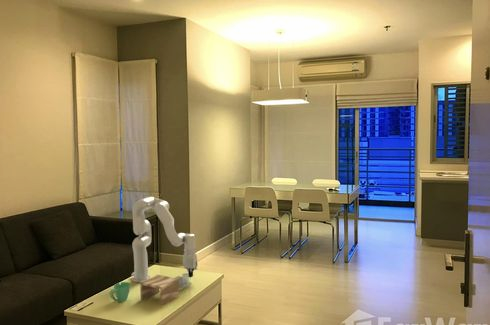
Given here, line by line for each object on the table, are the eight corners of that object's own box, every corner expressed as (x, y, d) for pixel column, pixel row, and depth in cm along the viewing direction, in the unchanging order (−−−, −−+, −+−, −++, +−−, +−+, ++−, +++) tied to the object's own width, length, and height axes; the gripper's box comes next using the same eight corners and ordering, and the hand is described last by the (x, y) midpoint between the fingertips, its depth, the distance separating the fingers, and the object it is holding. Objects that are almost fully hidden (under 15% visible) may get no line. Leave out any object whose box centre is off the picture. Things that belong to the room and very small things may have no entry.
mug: (121, 296, 264) (121, 281, 263) (133, 298, 260) (133, 283, 259) (105, 304, 251) (104, 289, 250) (117, 307, 247) (117, 291, 246)
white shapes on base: (165, 292, 270) (164, 281, 270) (183, 282, 288) (183, 272, 287) (173, 294, 267) (173, 282, 266) (191, 284, 284) (191, 273, 284)
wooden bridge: (140, 299, 257) (140, 282, 257) (157, 291, 271) (157, 274, 271) (162, 305, 249) (162, 286, 248) (179, 296, 263) (178, 278, 262)
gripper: (178, 251, 288) (179, 276, 289) (195, 254, 280) (196, 280, 281) (184, 248, 294) (185, 273, 295) (201, 251, 287) (202, 276, 288)
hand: (190, 276), depth 288 cm, fingers closed
